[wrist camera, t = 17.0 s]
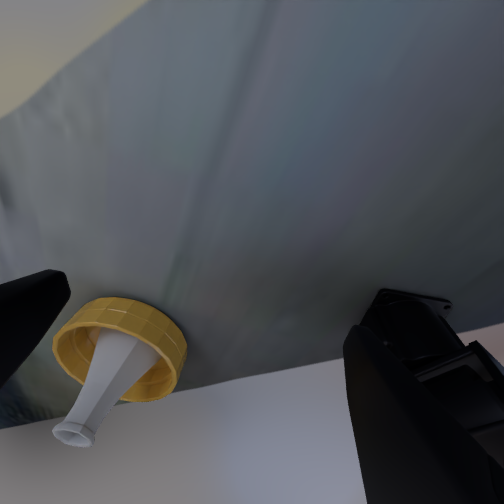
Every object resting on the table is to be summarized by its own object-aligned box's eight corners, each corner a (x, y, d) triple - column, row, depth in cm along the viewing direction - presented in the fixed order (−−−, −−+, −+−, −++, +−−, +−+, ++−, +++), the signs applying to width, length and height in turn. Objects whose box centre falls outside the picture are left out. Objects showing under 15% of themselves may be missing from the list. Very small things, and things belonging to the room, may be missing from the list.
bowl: (189, 306, 26) (175, 337, 22) (187, 378, 33) (177, 410, 29) (67, 284, 26) (35, 311, 23) (91, 360, 33) (69, 390, 29)
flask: (171, 360, 30) (127, 462, 22) (116, 358, 31) (54, 455, 23) (154, 317, 27) (94, 419, 18) (93, 316, 27) (8, 412, 19)
